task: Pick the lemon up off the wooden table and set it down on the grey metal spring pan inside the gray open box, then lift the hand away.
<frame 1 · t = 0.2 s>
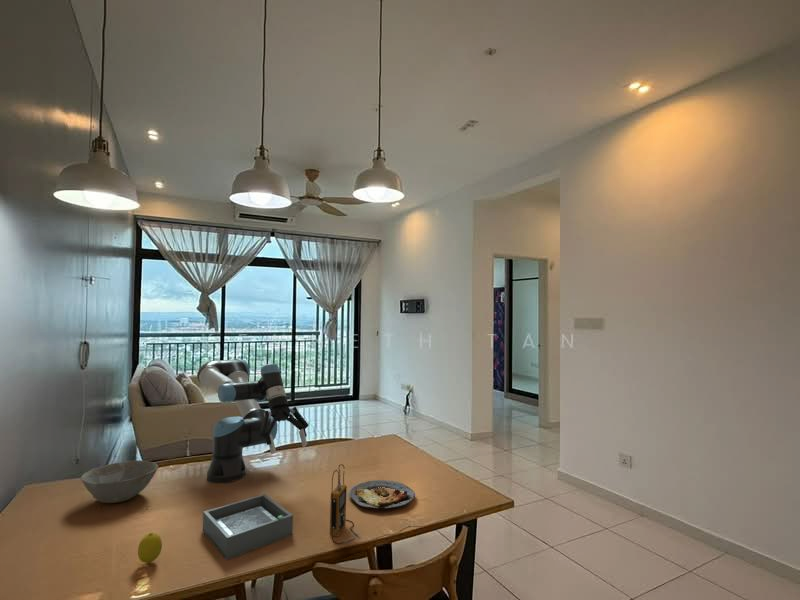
hand: (289, 449, 159), 16 cm above the table, tool tilted 35°, fingers open, 13 cm apart
food plate: (381, 499, 153), on the table
lemon: (149, 564, 110), on the table
spring pan: (247, 522, 126), point 3 cm above the table, slide at -0.4 cm
ceramic bowl: (119, 499, 148), on the table
gray open box: (247, 533, 126), on the table
multimeter: (348, 533, 128), on the table
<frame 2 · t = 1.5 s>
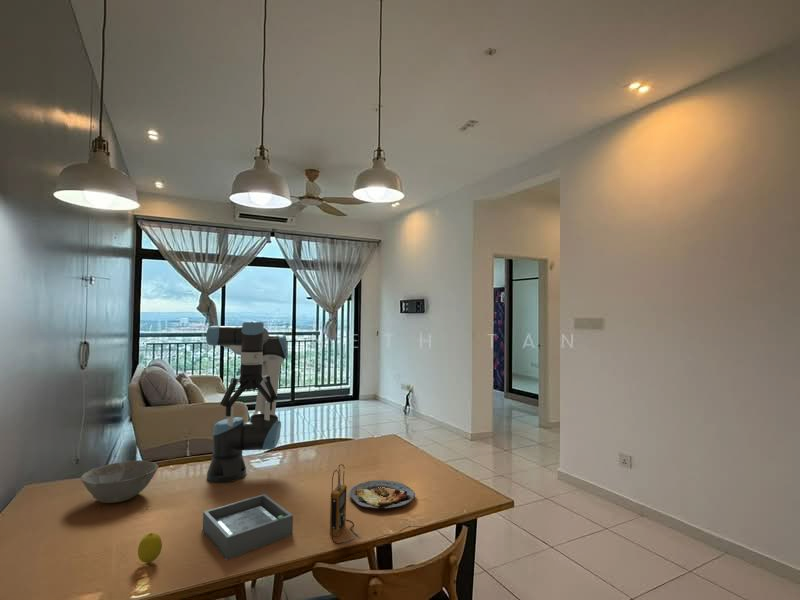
hand: (249, 422, 148), 29 cm above the table, tool pointing down, fingers open, 13 cm apart
nothing on the table moved.
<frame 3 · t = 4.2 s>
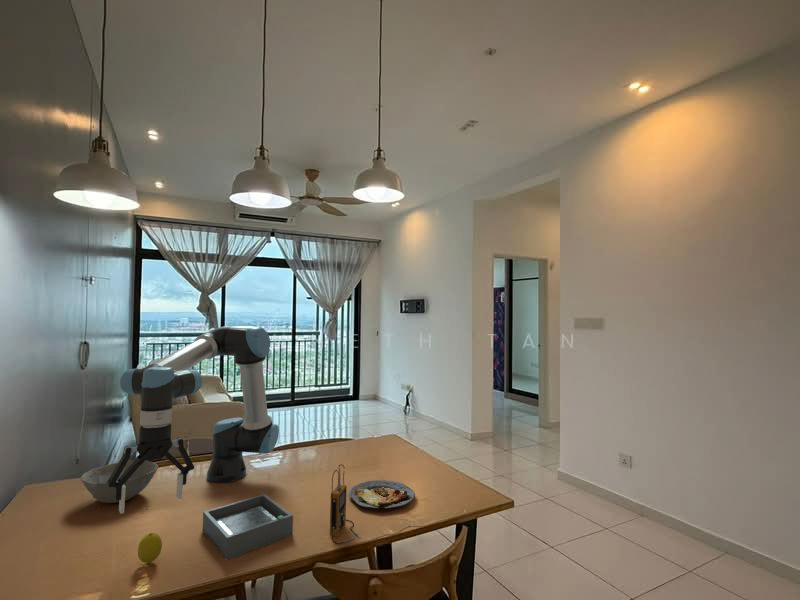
hand: (151, 504, 110), 16 cm above the table, tool pointing down, fingers open, 13 cm apart
nothing on the table moved.
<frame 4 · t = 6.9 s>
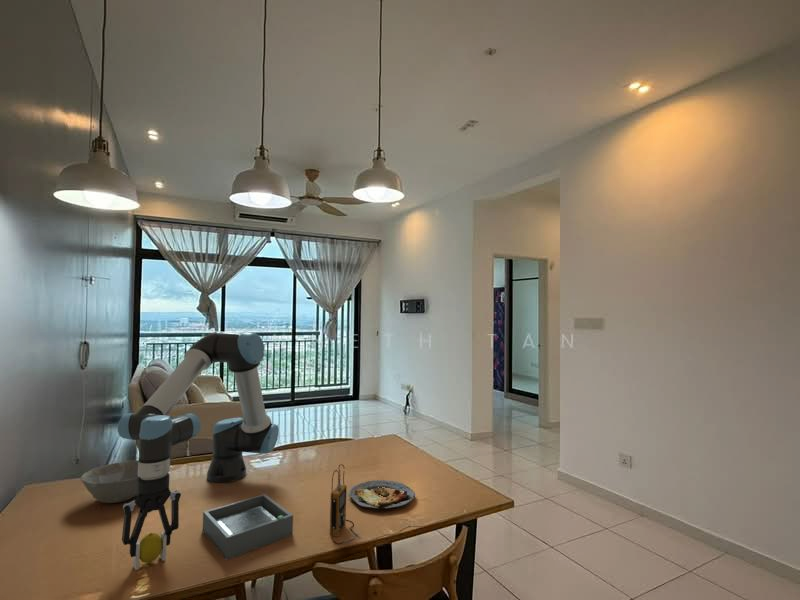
hand: (149, 562, 110), 0 cm above the table, tool pointing down, fingers closed on lemon, 5 cm apart
lemon: (149, 564, 110), on the table, touching gripper
everything else where it was.
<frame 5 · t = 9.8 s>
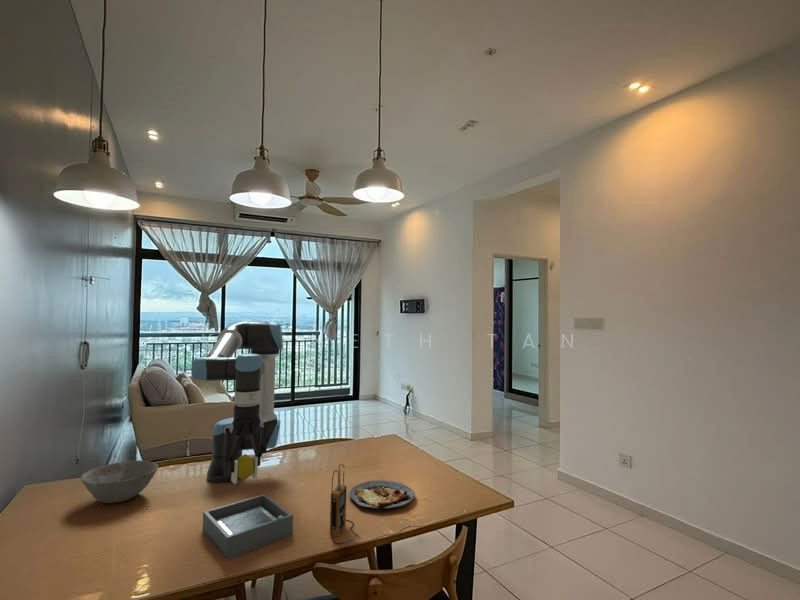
hand: (244, 479, 126), 17 cm above the table, tool pointing down, fingers closed on lemon, 5 cm apart
lemon: (244, 481, 126), point 16 cm above the table, touching gripper
everything else where it was.
when the fingers open (5 cm above the table, at t = 12.9 s): lemon drops 2 cm, resting on spring pan.
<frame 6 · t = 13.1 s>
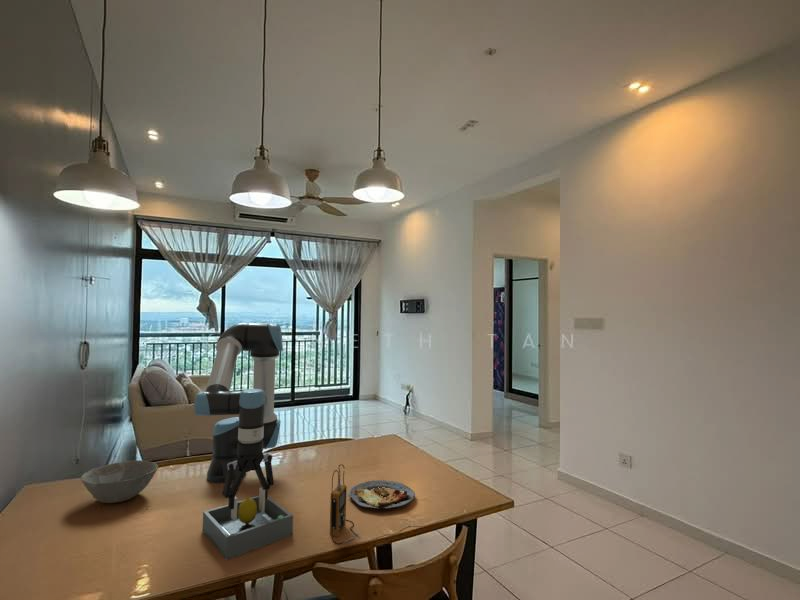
hand: (248, 514, 126), 6 cm above the table, tool pointing down, fingers open, 8 cm apart
lemon: (247, 525, 126), point 2 cm above the table, touching spring pan
spring pan: (247, 526, 126), point 2 cm above the table, slide at -1.6 cm, touching lemon
everything else where it was.
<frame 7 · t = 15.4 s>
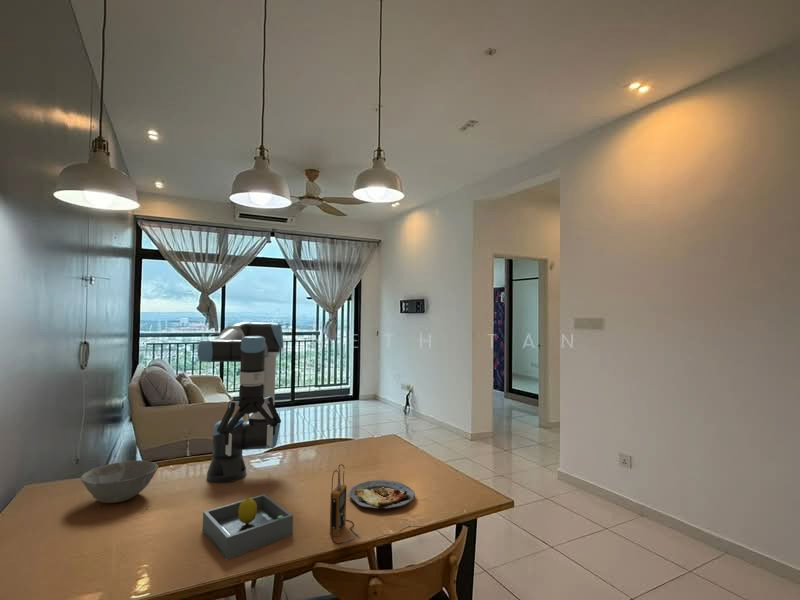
hand: (249, 450, 132), 24 cm above the table, tool pointing down, fingers open, 13 cm apart
nothing on the table moved.
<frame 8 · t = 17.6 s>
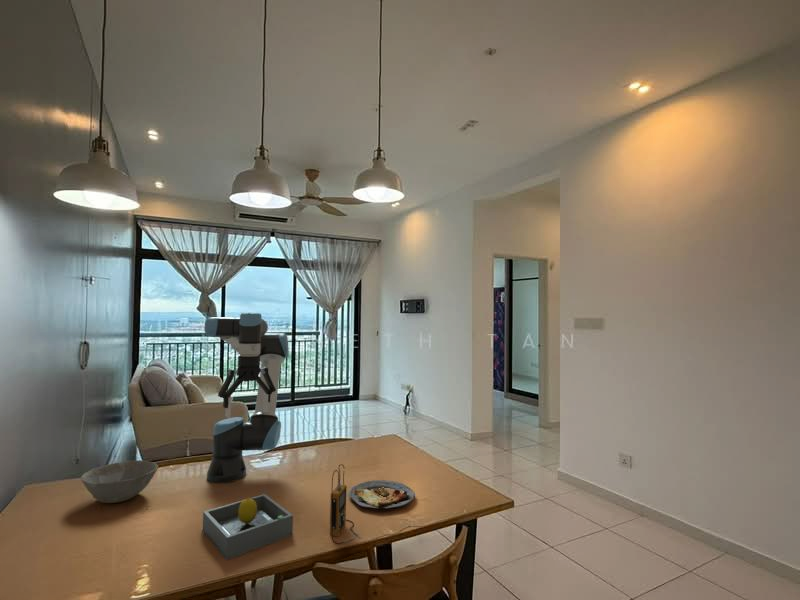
hand: (247, 414, 147), 32 cm above the table, tool pointing down, fingers open, 13 cm apart
nothing on the table moved.
at the end: lemon inside the target area on the gray open box (0.2 cm from its centre), point 2.4 cm above the gray open box's base; lemon touching spring pan; the gripper is holding nothing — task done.
